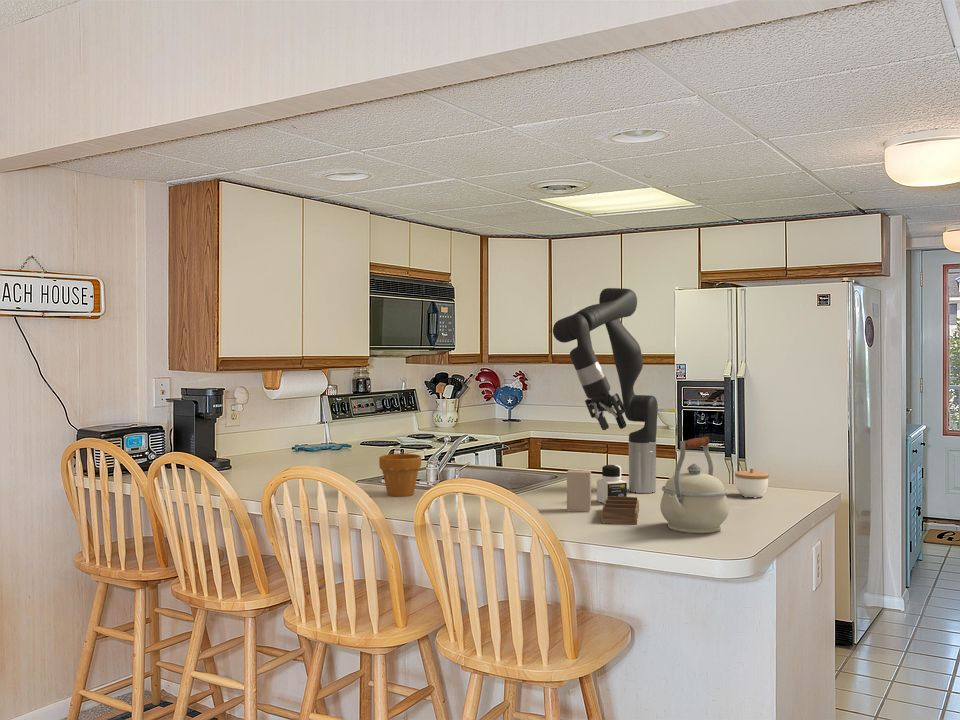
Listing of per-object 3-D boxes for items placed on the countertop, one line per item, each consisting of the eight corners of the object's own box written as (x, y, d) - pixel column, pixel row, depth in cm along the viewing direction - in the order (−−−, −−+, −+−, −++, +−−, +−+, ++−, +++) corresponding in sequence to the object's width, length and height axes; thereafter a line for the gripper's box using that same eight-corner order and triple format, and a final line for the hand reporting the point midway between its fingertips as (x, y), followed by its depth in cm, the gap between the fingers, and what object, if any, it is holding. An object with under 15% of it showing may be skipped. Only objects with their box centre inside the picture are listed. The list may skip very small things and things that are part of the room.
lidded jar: (735, 498, 282) (735, 470, 282) (734, 493, 292) (734, 465, 292) (769, 499, 279) (770, 471, 279) (767, 494, 290) (767, 466, 290)
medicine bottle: (607, 505, 270) (607, 467, 270) (596, 501, 277) (596, 464, 277) (627, 503, 273) (627, 466, 273) (615, 499, 280) (615, 463, 279)
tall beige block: (568, 508, 265) (568, 470, 265) (591, 509, 263) (591, 470, 263) (566, 511, 261) (566, 472, 261) (589, 512, 259) (589, 472, 259)
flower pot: (374, 497, 284) (373, 458, 284) (386, 490, 298) (386, 453, 298) (415, 498, 282) (415, 459, 282) (425, 491, 296) (425, 454, 296)
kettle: (681, 517, 251) (681, 433, 251) (741, 526, 239) (742, 437, 239) (639, 532, 232) (640, 440, 231) (703, 542, 220) (703, 445, 220)
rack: (605, 509, 263) (606, 495, 263) (638, 510, 261) (639, 497, 261) (601, 522, 244) (601, 508, 244) (636, 524, 242) (636, 509, 242)
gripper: (616, 371, 248) (638, 421, 250) (588, 376, 260) (609, 424, 262) (598, 382, 244) (620, 433, 246) (570, 386, 257) (591, 435, 258)
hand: (614, 428), depth 254 cm, fingers open, 8 cm apart
